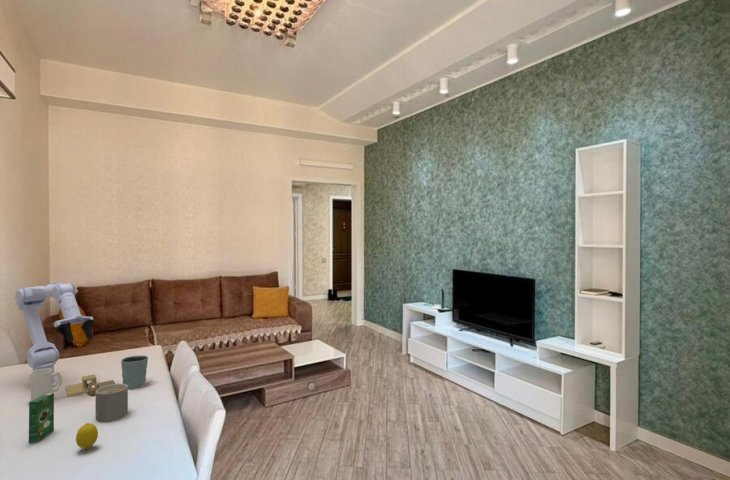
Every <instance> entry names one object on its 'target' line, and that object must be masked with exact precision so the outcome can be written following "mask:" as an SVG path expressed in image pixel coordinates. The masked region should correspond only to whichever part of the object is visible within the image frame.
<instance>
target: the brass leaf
mask: <svg viewBox="0 0 730 480" xmlns="http://www.w3.org/2000/svg"><path fill="white" fill-rule="evenodd" d="M88 382H92V383H96V384H97V376H96V374H94V373H93V374H90V375H84V376H81V382H79V383H74V384H70V385H65V386H64V390H65V393H66V395H67V398H69V397H74V396H79V395H83V394H86V393H87V392H86V391H87V386H88Z"/></svg>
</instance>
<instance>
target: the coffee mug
mask: <svg viewBox="0 0 730 480" xmlns="http://www.w3.org/2000/svg"><path fill="white" fill-rule="evenodd" d="M128 391H129V390H128V386H127V385H126V384H123V383H115V384H112V385H107V386H104V387H101V388H99V389H97V390H96V392H95V395H94V396H95V401H94V402H95V406H94V407H95V411H94V412H95V421H96V422H97V423H98V422H99V423H110V422H111V423H112V422H115V421H118V420H120V419H123V418H124V417H126V416H127V415H128V413H129V404H128V403H129V399H128V398H129V392H128Z"/></svg>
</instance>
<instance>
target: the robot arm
mask: <svg viewBox="0 0 730 480" xmlns="http://www.w3.org/2000/svg"><path fill="white" fill-rule="evenodd" d="M75 294H76V288H75V285H74V284H73V283H71V282H69V283H62V282H58V283H57V282H50V284H47V285H46V286H45V285H37V286H30V287H24V288H19V289H17V290H16V292H15V295H14V296H15V297H14V300H15V302H16V306H17V309H18V310H20V311H22V314H23V316H24V321H25V324H26V327H27V331H28V334H29V338H30V341H31V344H32V346H31V347H30V348H28V350H27V352H26V362H27V365H28V366H29V367H30V368H32V371H35V370H39V369H46V368H49V369H52V373H55V364H56V363H57V362H58V360H59V359H60V352H59V350H58V349H57V347H56V345H55V344H54V343H51V342H50V341H48V340H47V337H46V334H45V330H44V326H43V324H42V320H41V318H40V312H39V310H38V309H40V308H42V307H43V306H44V303H45V301H46V299H47V298H53V299H55V302H56V303H57V304H58V305H59V306H58V307H59V309H60V311H61V314H62V317H63V319H60V320H55V321H54V322H53V325H54V328H56V329H55V330H56V331H57V333H59V334H61V336H62V337H64V338H65V339H66V341H67V342H68V343H71V342H73V341H74V336H73V332H72V328H71V327H72V326H71V325H77V324H79V325H80V324H82V325H81V326H80V328H81V329H82V331H83V332H84V334H85V337H86V339H87V340H90V339H91V338H93V325H94V322H95V321H94V317H93V316H85V315H82V314H81V311H80V308H79V305H78V302H77V300H76V296H75ZM56 385H57V384H56V380H55V376H53V377H52V387H57V386H56Z"/></svg>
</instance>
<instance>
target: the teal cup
mask: <svg viewBox="0 0 730 480" xmlns="http://www.w3.org/2000/svg"><path fill="white" fill-rule="evenodd" d="M120 361H121V376H122V377H121V378H122V384H126V385H127V386H128V391H129V390H136V389H140V388H142V387H144V386H146V381H147V380H146V377H147V368H148V361H149V357H148V356H147V355H132V356H126V357H124V358H121V360H120Z"/></svg>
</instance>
